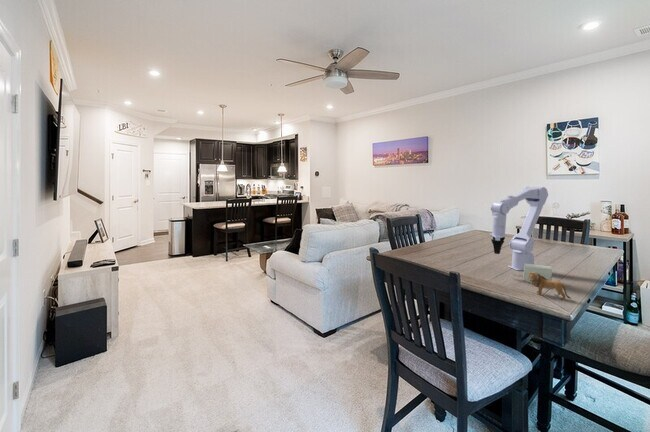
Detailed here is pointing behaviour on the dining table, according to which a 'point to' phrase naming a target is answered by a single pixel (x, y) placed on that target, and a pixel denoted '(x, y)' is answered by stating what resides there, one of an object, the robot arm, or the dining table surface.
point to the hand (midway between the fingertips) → (497, 252)
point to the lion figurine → (546, 284)
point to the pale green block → (537, 271)
